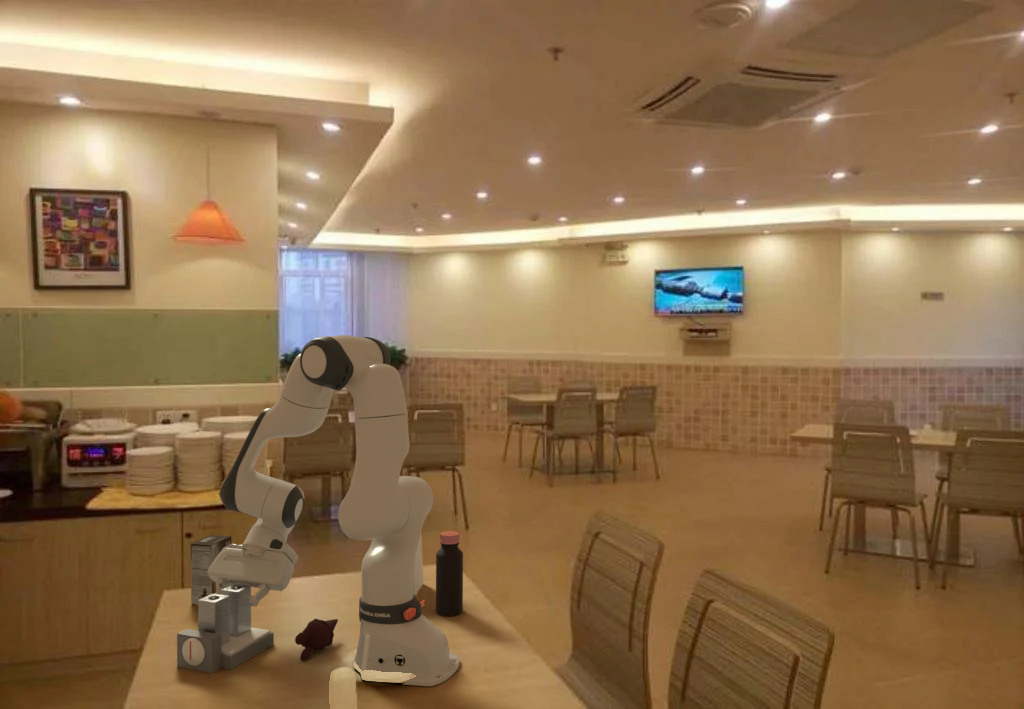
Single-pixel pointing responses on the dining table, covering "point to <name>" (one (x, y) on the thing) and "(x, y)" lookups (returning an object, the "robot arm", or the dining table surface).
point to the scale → (219, 649)
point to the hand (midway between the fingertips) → (234, 602)
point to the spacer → (238, 609)
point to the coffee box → (205, 565)
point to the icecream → (316, 637)
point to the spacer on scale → (214, 615)
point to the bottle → (449, 575)
